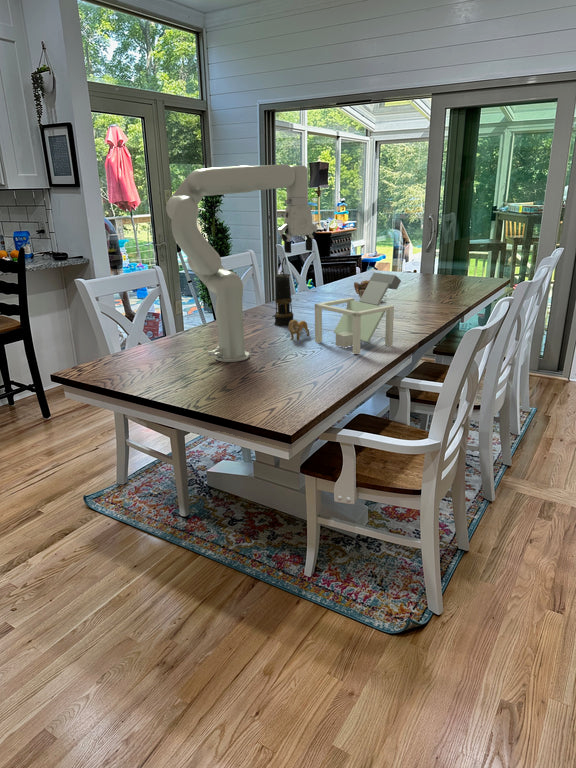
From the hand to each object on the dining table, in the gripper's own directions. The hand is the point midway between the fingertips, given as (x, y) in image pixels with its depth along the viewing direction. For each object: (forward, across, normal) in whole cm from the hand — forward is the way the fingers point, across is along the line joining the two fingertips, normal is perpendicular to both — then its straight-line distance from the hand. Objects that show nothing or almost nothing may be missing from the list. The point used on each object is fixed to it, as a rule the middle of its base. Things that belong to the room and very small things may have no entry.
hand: (298, 251), depth 199 cm
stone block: (+34, +16, -11) cm, 39 cm away
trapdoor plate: (+24, +28, -11) cm, 39 cm away
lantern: (+36, +18, +36) cm, 54 cm away
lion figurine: (+37, +7, +10) cm, 39 cm away
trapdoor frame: (+36, +18, -11) cm, 42 cm away
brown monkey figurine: (+37, +82, +48) cm, 102 cm away
